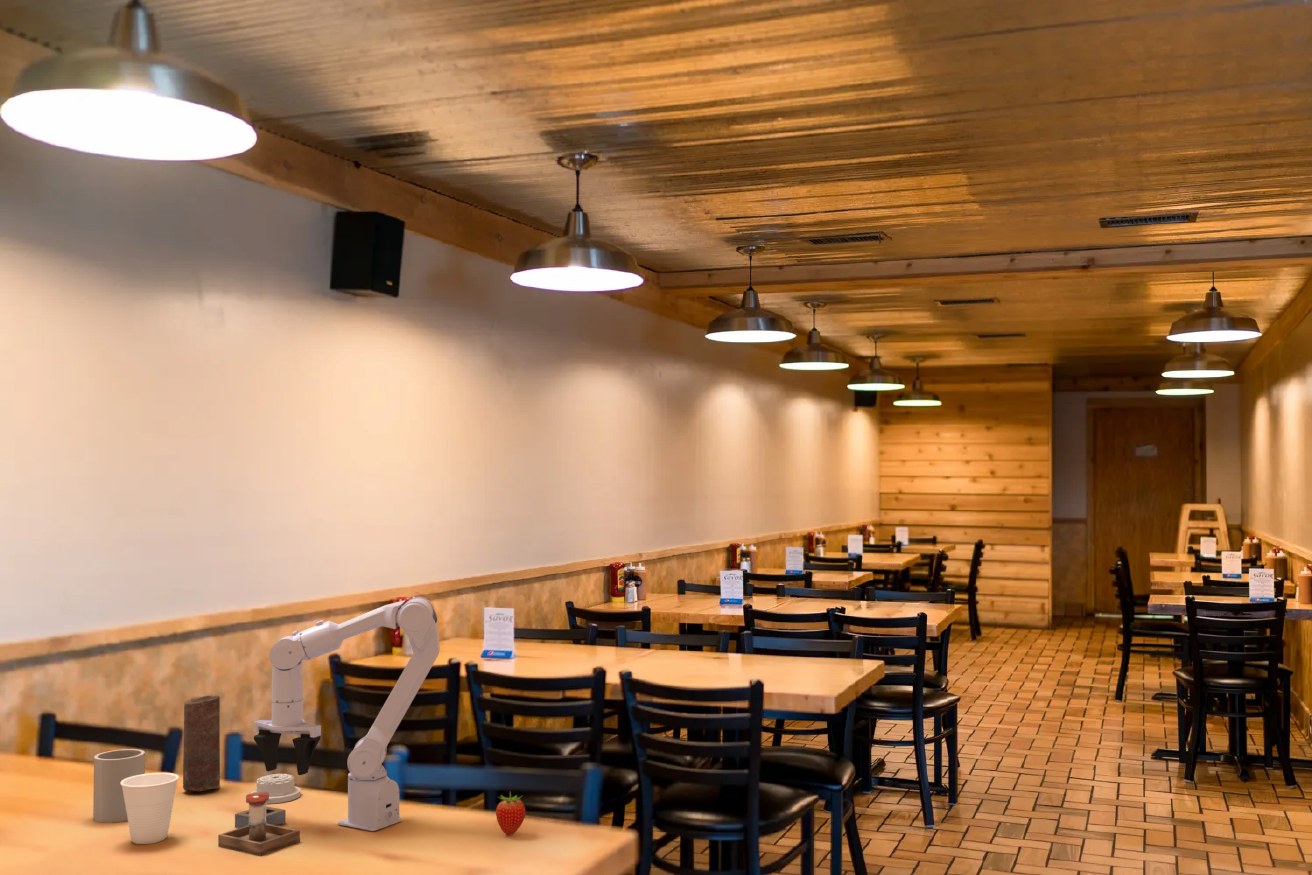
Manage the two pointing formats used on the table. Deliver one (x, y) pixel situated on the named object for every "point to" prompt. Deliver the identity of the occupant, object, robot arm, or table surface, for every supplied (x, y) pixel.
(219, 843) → the tray
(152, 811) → the cup
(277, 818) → the block
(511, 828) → the fruit
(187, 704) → the candle
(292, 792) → the white rounded piece
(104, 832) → the table surface
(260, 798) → the spice jar
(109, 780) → the cup
